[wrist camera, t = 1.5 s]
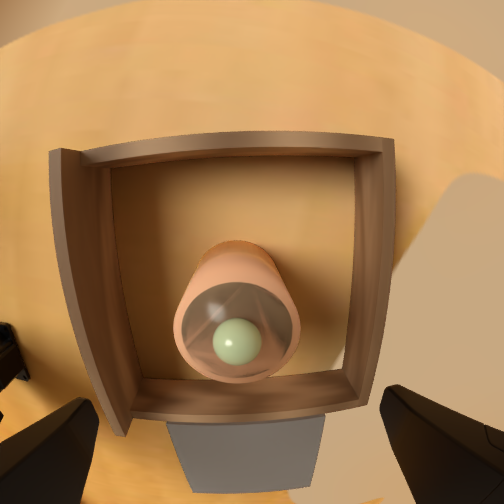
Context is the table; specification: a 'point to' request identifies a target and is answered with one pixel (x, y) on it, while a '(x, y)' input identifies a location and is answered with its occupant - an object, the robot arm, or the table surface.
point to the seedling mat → (248, 454)
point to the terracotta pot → (236, 316)
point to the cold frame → (112, 298)
